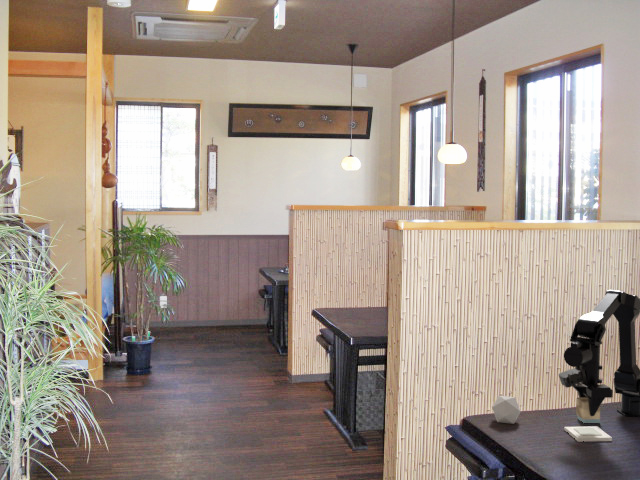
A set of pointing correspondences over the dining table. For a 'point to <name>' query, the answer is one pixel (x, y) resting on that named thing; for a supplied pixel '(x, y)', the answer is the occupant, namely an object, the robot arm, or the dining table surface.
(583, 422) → the teal brick
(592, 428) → the plate
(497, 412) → the die
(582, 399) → the maple brick
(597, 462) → the dining table surface
